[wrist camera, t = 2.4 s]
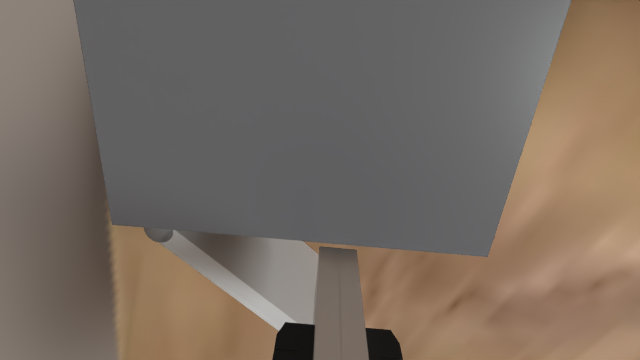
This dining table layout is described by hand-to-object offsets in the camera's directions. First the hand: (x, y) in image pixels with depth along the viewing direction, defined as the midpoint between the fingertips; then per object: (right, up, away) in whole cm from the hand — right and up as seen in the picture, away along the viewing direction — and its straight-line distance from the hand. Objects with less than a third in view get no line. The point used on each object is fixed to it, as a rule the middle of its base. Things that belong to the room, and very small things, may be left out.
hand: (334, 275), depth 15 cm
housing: (-1, +11, +4) cm, 12 cm away
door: (-3, +1, +8) cm, 8 cm away
